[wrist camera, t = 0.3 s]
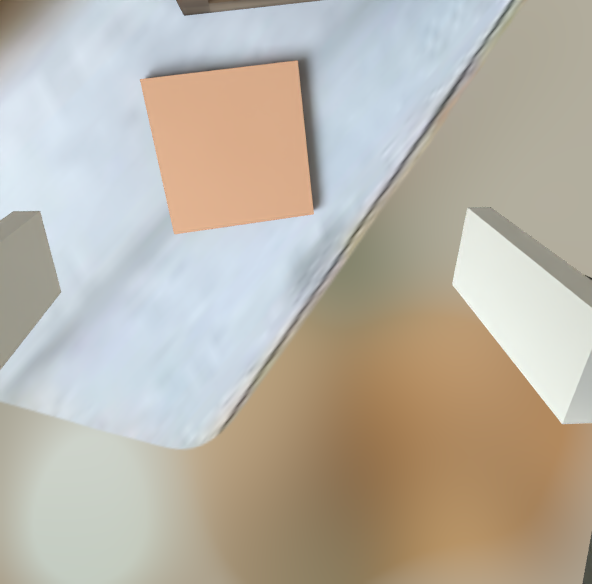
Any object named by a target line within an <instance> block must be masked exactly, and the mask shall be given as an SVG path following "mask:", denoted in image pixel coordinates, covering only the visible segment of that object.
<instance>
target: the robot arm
mask: <svg viewBox="0 0 592 584" xmlns="http://www.w3.org/2000/svg"><path fill="white" fill-rule="evenodd" d="M452 285H453V286H454V287H455V288H456V290H457V291H458V292H459V294H460V295H461V296H462V297H463V299H464V300H465V301H466V302H467V304H468V305H469V306H470V308H471V309H472V310H473V311H474V313H475V314H476V315H477V316H478V318H479V319H480V320H481V322H482V323H483V324H484V325H485V326H486V328H487V329H488V330H489V332H490V333H491V334H492V335H493V337H494V338H495V339H496V341H497V342H498V343H499V344H500V346H501V347H502V348H503V349H504V351H505V352H506V353H507V354H508V356H509V357H510V358H511V360H512V361H513V362H514V363H515V365H516V366H517V367H518V368H519V370H520V371H521V372H522V374H523V375H524V376H525V377H526V379H527V380H528V381H529V382H530V384H531V385H532V386H533V387H534V389H535V390H536V391H537V392H538V394H539V395H540V396H541V398H542V399H543V400H544V401H545V403H546V404H547V405H548V406H549V408H550V409H551V410H552V412H553V413H554V414H555V415H556V417H557V418H558V419H559V420H560V422H561V423H562V424H574V423H592V278H590V277H588V276H586V275H584V274H582V273H581V272H579V271H578V270H577V269H575V268H574V267H572V266H571V265H570V264H568V263H567V262H565V261H564V260H563V259H561V258H560V257H559V256H557V255H556V254H555V253H553V252H552V251H550V250H549V249H548V248H546V247H545V246H543V245H542V244H541V243H539V242H538V241H537V240H535V239H534V238H532V237H531V236H530V235H528V234H527V233H525V232H524V231H523V230H521V229H520V228H519V227H517V226H516V225H514V224H513V223H512V222H510V221H509V220H508V219H506V218H505V217H504V216H502V215H501V214H499V213H498V212H497V211H495V210H494V209H492V208H491V207H478V208H477V207H475V208H474V207H473V208H467V213H466V218H465V223H464V228H463V233H462V238H461V243H460V248H459V253H458V258H457V264H456V268H455V273H454V278H453V283H452ZM60 293H61V290H60V286H59V282H58V278H57V274H56V270H55V267H54V263H53V259H52V255H51V251H50V247H49V244H48V240H47V236H46V232H45V228H44V225H43V221H42V217H41V213H40V211H13V212H12V213H10V214H9V215H8V216H6V217H5V218H3V219H2V220H0V370H1V368H2V367H3V366H4V365H5V363H6V362H7V361H8V359H9V358H10V357H11V356H12V354H13V353H14V352H15V351H16V349H17V348H18V347H19V345H20V344H21V343H22V342H23V340H24V339H25V338H26V337H27V335H28V334H29V333H30V331H31V330H32V329H33V328H34V326H35V325H36V324H37V322H38V321H39V320H40V319H41V317H42V316H43V315H44V314H45V312H46V311H47V310H48V308H49V307H50V306H51V305H52V303H53V302H54V301H55V299H56V298H57V297H58V296H59V294H60ZM583 584H592V535H591V540H590V545H589V551H588V556H587V562H586V568H585V573H584V578H583Z"/></svg>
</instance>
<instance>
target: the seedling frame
mask: <svg viewBox="0 0 592 584" xmlns="http://www.w3.org/2000/svg"><path fill="white" fill-rule="evenodd" d="M176 1H177V3H178V5H179V7H180V9H181V11H182V12H183V14H184V16H185V15H194V14H203V13H212V12H221V11H230V10H239V9H248V8H257V7H266V6H275V5H284V4H293V3H302V2H311V1H320V0H176Z"/></svg>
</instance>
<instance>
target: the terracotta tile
mask: <svg viewBox="0 0 592 584" xmlns="http://www.w3.org/2000/svg"><path fill="white" fill-rule="evenodd" d="M140 82H141V86H142V91H143V95H144V100H145V104H146V109H147V113H148V118H149V122H150V127H151V131H152V136H153V140H154V145H155V149H156V154H157V158H158V163H159V167H160V172H161V177H162V181H163V186H164V190H165V195H166V199H167V204H168V208H169V213H170V217H171V222H172V226H173V231H174V234H180V233H186V232H193V231H200V230H207V229H214V228H221V227H228V226H235V225H242V224H249V223H256V222H263V221H270V220H277V219H284V218H291V217H298V216H304V215H311V214H314V211H313V202H312V192H311V183H310V173H309V164H308V154H307V145H306V135H305V126H304V116H303V106H302V97H301V87H300V78H299V68H298V60H297V61H288V62H280V63H272V64H263V65H255V66H247V67H238V68H230V69H222V70H213V71H205V72H197V73H188V74H180V75H172V76H163V77H155V78H147V79H140Z"/></svg>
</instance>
